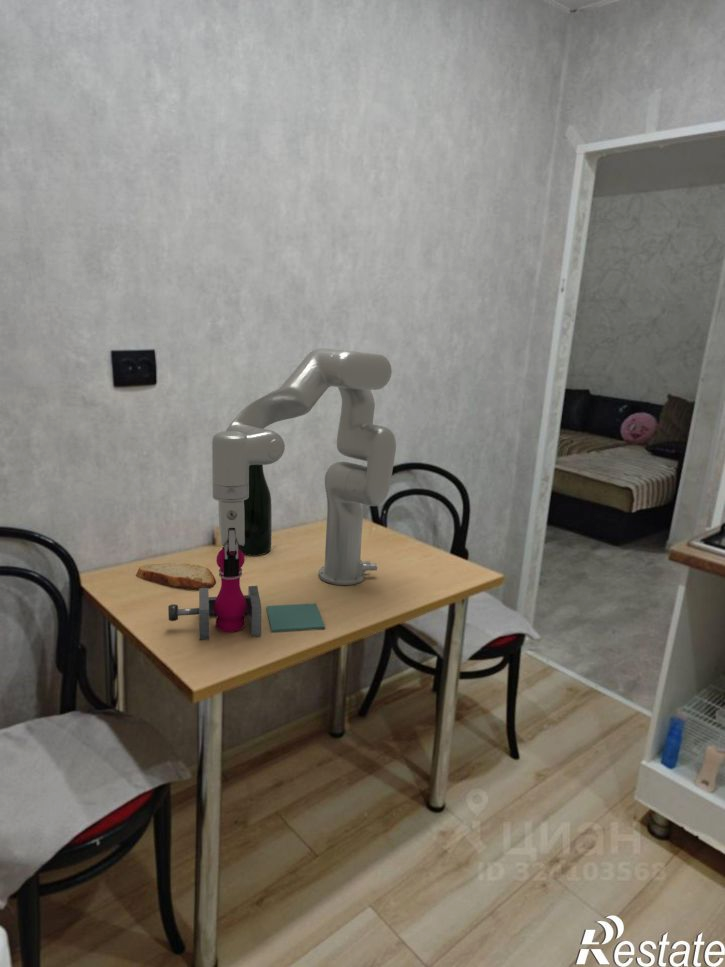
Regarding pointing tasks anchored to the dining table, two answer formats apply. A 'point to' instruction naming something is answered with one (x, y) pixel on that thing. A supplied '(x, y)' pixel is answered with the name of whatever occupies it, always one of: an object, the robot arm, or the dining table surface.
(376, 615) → the dining table surface
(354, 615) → the dining table surface
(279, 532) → the dining table surface
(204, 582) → the bread slice
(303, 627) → the mat
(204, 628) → the grey c-clamp
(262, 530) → the dark green wine bottle
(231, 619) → the pepper mill
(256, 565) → the dining table surface
